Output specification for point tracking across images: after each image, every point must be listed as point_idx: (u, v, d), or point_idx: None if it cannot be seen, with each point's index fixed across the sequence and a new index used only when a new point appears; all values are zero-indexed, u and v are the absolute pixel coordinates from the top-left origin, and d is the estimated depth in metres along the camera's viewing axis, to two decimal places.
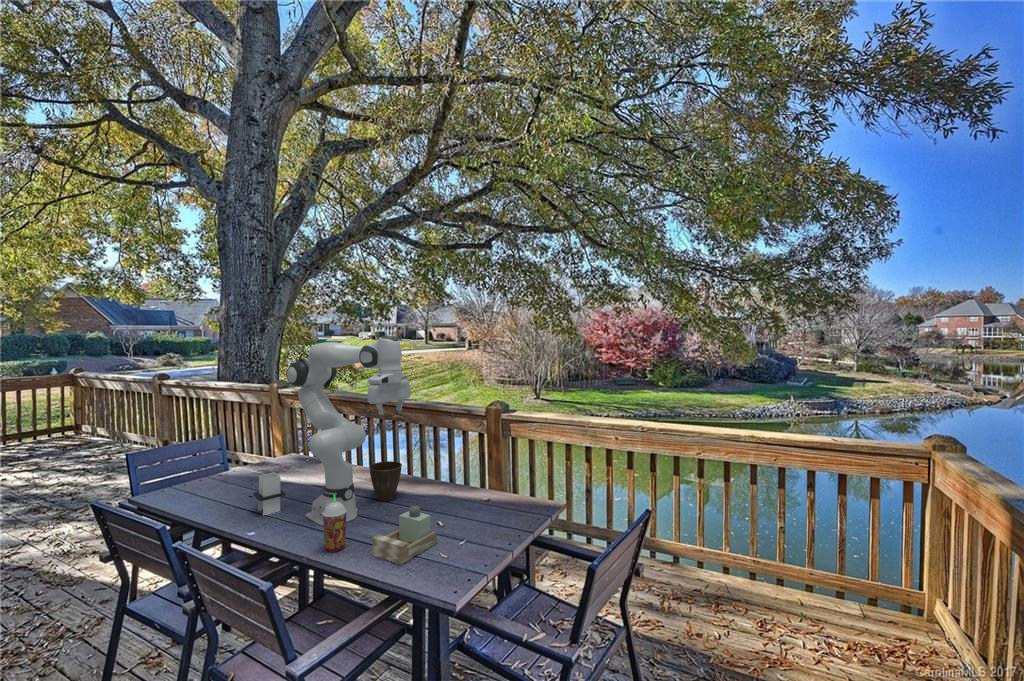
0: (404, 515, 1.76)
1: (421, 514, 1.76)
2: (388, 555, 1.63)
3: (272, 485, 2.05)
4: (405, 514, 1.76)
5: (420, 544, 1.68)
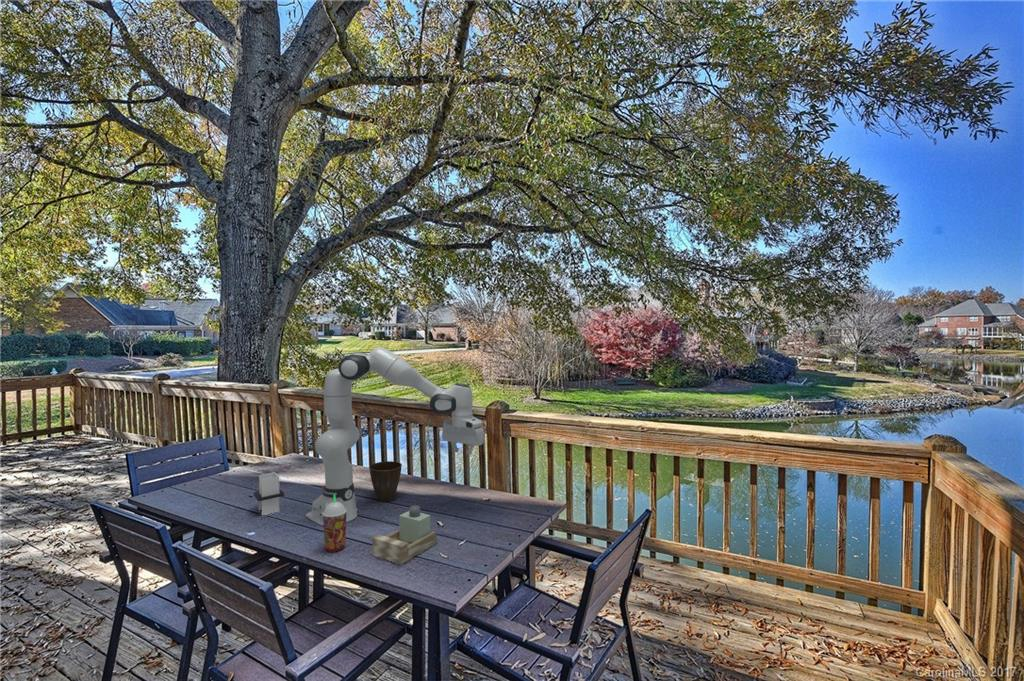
0: (404, 515, 1.76)
1: (421, 514, 1.76)
2: (388, 555, 1.63)
3: (271, 485, 2.05)
4: (405, 514, 1.76)
5: (420, 544, 1.68)
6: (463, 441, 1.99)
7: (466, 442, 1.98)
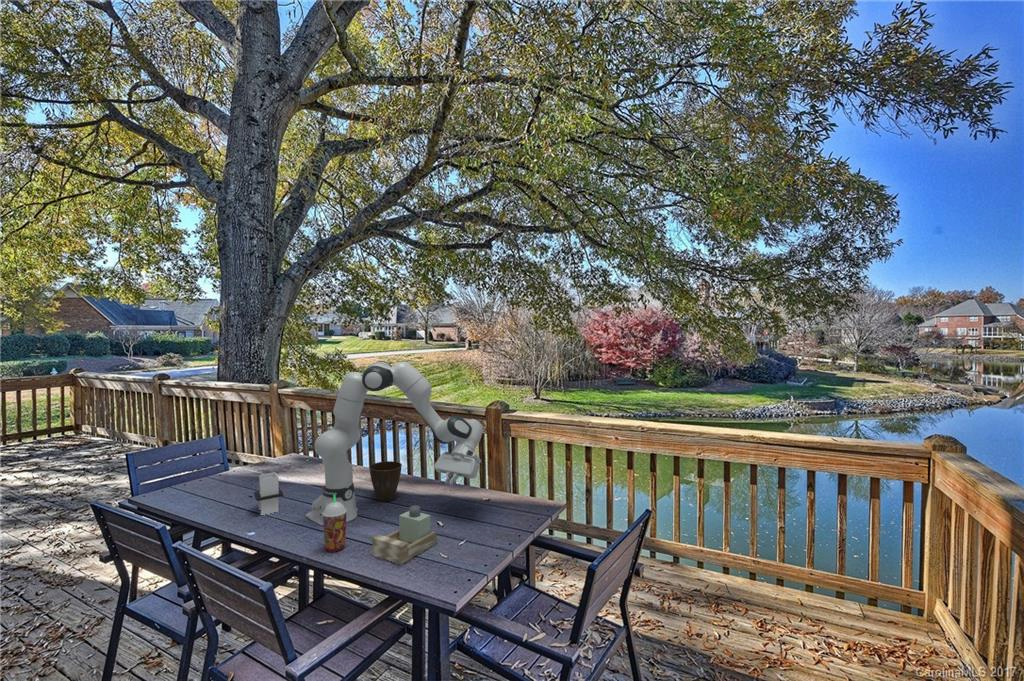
0: (404, 515, 1.76)
1: (421, 514, 1.76)
2: (388, 555, 1.63)
3: (270, 485, 2.05)
4: (405, 514, 1.76)
5: (420, 544, 1.68)
6: (455, 469, 1.94)
7: (458, 471, 1.93)
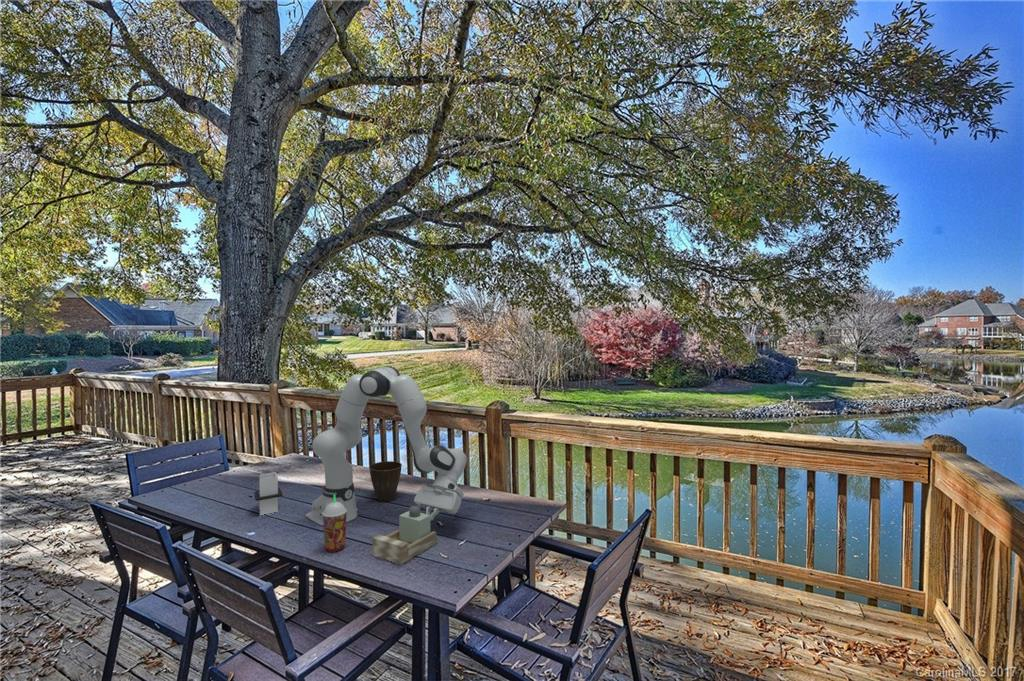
0: (404, 515, 1.76)
1: (421, 514, 1.76)
2: (388, 555, 1.63)
3: (269, 485, 2.05)
4: (405, 514, 1.76)
5: (420, 544, 1.68)
6: (436, 504, 1.84)
7: (439, 505, 1.83)
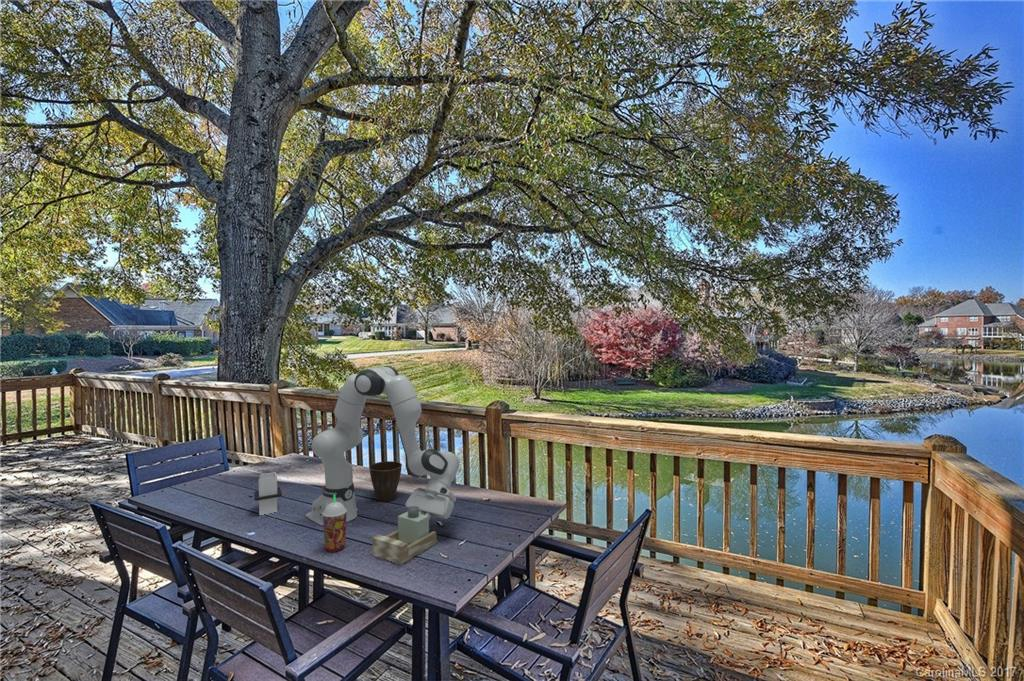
0: (402, 516, 1.75)
1: (420, 515, 1.76)
2: (388, 555, 1.63)
3: (268, 485, 2.05)
4: (404, 515, 1.76)
5: (420, 544, 1.68)
6: (428, 509, 1.80)
7: (430, 510, 1.79)
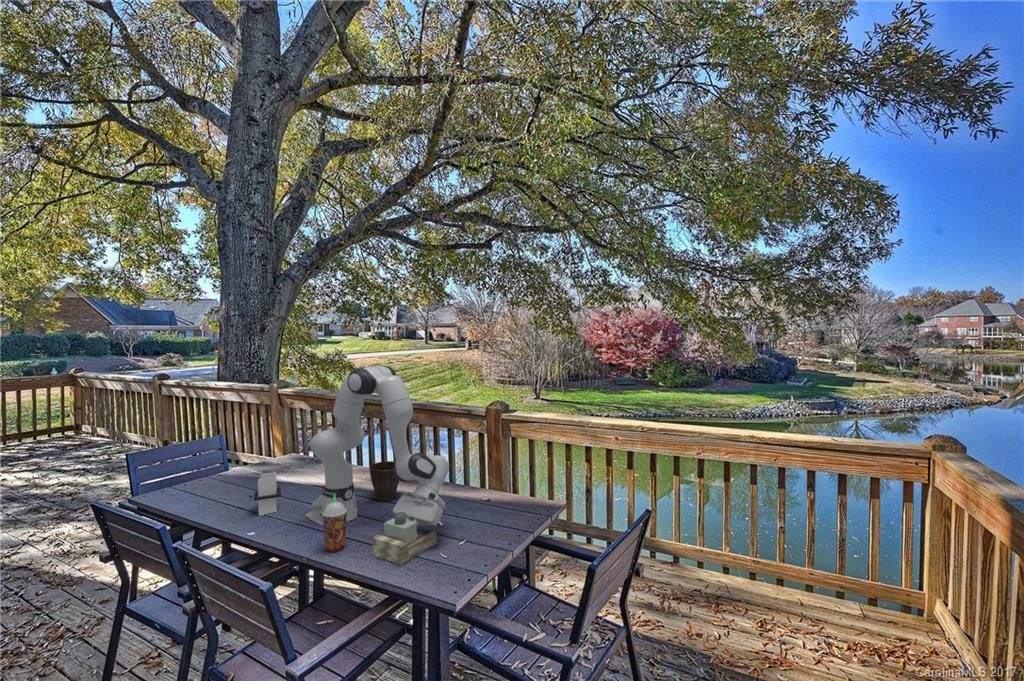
0: (389, 522, 1.69)
1: (407, 521, 1.70)
2: (388, 555, 1.63)
3: (268, 485, 2.05)
4: (390, 521, 1.70)
5: (420, 544, 1.68)
6: (415, 515, 1.74)
7: (418, 516, 1.73)
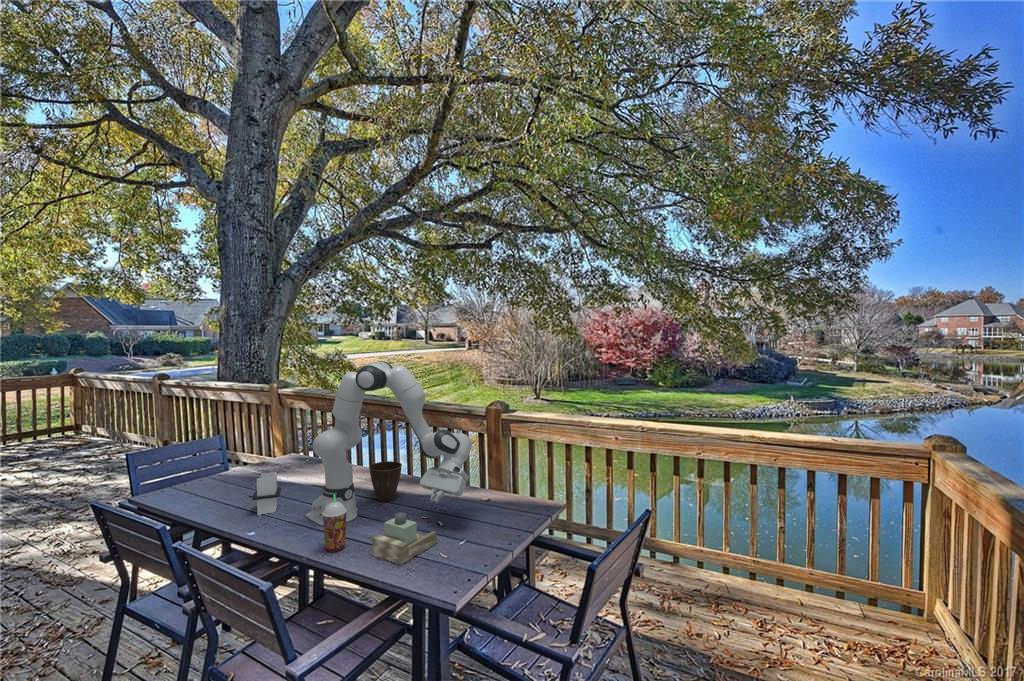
0: (389, 522, 1.69)
1: (407, 521, 1.70)
2: (388, 555, 1.63)
3: (266, 485, 2.05)
4: (390, 521, 1.70)
5: (420, 544, 1.68)
6: (441, 486, 1.87)
7: (444, 488, 1.86)
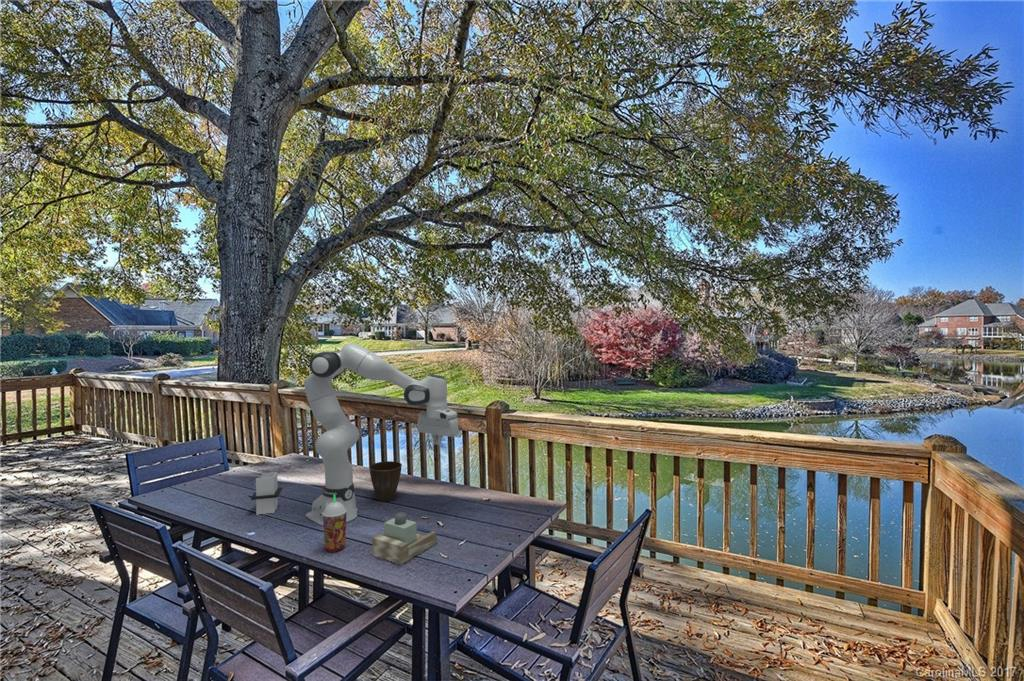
0: (389, 522, 1.69)
1: (407, 521, 1.70)
2: (388, 555, 1.63)
3: (265, 485, 2.05)
4: (390, 521, 1.70)
5: (420, 544, 1.68)
6: (437, 432, 1.98)
7: (440, 433, 1.97)
